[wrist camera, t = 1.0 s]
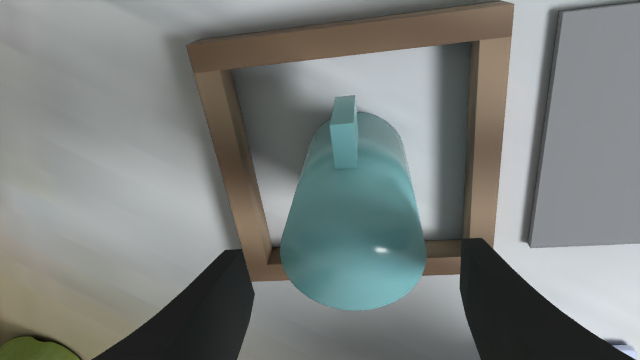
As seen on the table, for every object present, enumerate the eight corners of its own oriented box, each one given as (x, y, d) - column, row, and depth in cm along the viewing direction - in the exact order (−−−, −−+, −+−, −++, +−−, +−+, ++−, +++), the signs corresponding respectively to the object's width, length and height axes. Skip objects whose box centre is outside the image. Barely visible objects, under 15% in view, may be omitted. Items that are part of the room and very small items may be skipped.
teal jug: (406, 196, 22) (426, 309, 15) (314, 202, 22) (292, 312, 15) (402, 71, 18) (425, 138, 11) (295, 83, 19) (256, 152, 12)
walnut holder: (483, 255, 23) (491, 273, 22) (257, 264, 25) (251, 281, 23) (502, 0, 17) (514, 3, 15) (198, 39, 19) (186, 45, 17)
